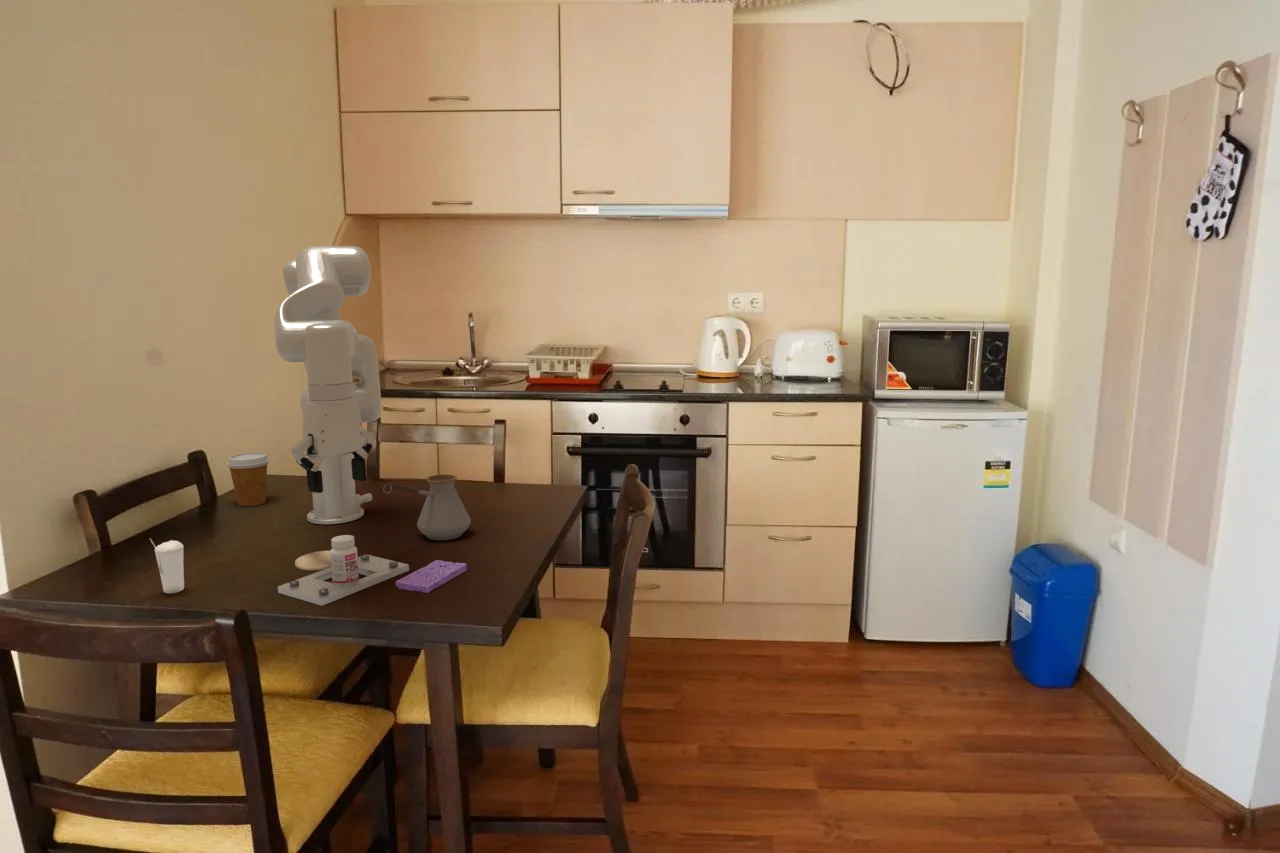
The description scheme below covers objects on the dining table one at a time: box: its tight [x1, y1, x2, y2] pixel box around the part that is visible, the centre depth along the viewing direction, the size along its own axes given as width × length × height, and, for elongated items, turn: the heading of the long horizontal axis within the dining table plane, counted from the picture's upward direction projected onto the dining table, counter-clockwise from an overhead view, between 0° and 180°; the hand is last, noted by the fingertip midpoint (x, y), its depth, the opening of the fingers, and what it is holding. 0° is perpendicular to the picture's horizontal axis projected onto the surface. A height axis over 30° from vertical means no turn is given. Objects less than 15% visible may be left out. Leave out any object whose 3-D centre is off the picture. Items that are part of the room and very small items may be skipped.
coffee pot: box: [382, 474, 472, 541], centre depth 177 cm, size 21×12×15 cm, turn 149°
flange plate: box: [277, 554, 410, 607], centre depth 155 cm, size 20×12×2 cm, turn 149°
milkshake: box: [149, 538, 185, 595], centre depth 151 cm, size 5×5×10 cm
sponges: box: [395, 559, 468, 594], centre depth 156 cm, size 7×13×2 cm, turn 158°
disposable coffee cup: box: [226, 452, 270, 507], centre depth 208 cm, size 10×10×12 cm
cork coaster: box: [294, 549, 331, 571], centre depth 166 cm, size 10×10×1 cm
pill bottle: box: [330, 534, 360, 586], centre depth 155 cm, size 5×5×8 cm
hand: (338, 485), depth 152 cm, fingers open, 9 cm apart
